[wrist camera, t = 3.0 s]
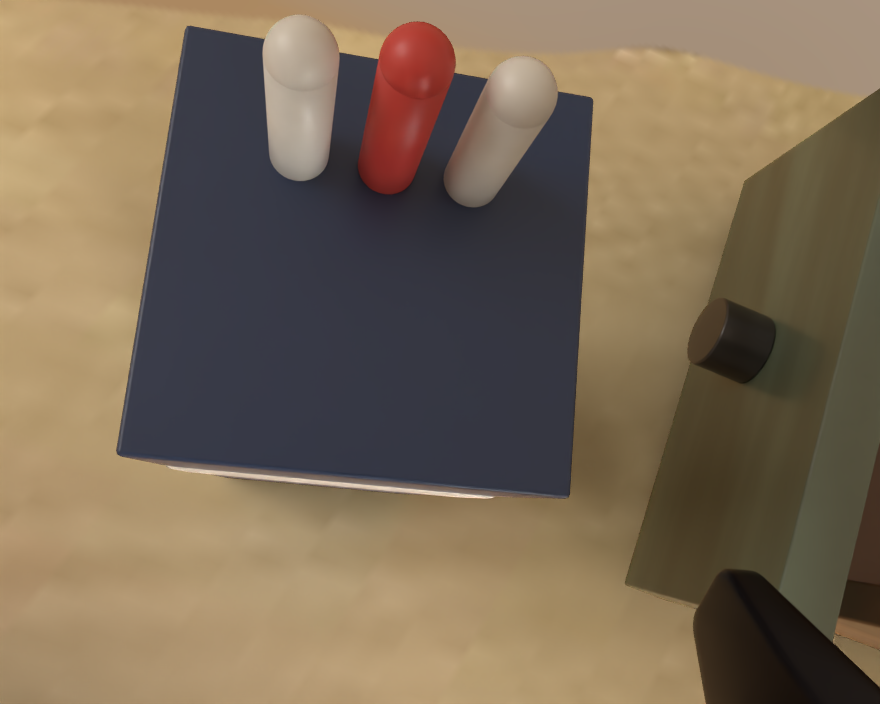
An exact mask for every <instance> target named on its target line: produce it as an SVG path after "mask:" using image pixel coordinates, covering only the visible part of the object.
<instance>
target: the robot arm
mask: <svg viewBox="0 0 880 704" xmlns="http://www.w3.org/2000/svg"><path fill="white" fill-rule="evenodd" d="M693 631H694V638H695V643H696V649H697V655H698V661H699V667H700V672H701V678H702V684H703V690H704V696H705V701H706V704H880V688H879V687H878V686H877V685H876V684H875V683H874V682H873V681H872V680H871V679H870V678H869V677H868V676H867V675H866V674H865V673H864V672H863V671H862V670H861V669H860V668H859V667H858V666H856V665H855V664H854V663H853V662H852V661H851V660H850V659H849V658H848V657H847V656H846V655H845V654H844V653H843V652H842V651H841V650H840V649H839V648H838V647H837V646H836V645H835V644H834V643H832V642H831V641H830V640H829V639H828V638H827V637H826V636H825V635H824V634H823V633H822V632H821V631H820V630H819V629H818V628H817V627H816V626H815V625H814V624H813V623H812V622H811V621H809V620H808V619H807V618H806V617H805V616H804V615H803V614H802V613H801V612H800V611H799V610H798V609H797V608H796V607H795V606H794V605H793V604H792V603H791V602H790V601H789V600H788V599H786V598H785V597H784V596H783V595H782V594H781V593H780V592H779V591H778V590H777V589H776V588H775V587H774V586H773V585H772V584H771V583H770V582H769V581H768V580H767V579H766V578H764V577H763V576H762V575H761V574H759V573H758V572H755V571H752V570H741V569H729V568H728V569H723V570H722V571H720V572H719V573H718V574H717V575H716V577H715V578H714V580H713V582H712V584H711V585H710V587H709V589H708V591H707V592H706V594H705V596H704V597H703V599H702V601H701V603H700V604H699V606H698V608H697V610H696V612H695V616H694V622H693Z"/></svg>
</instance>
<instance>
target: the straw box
mask: <svg viewBox="0 0 880 704" xmlns="http://www.w3.org/2000/svg"><path fill="white" fill-rule="evenodd" d="M455 66H456V59H455V54H454V49H453V47H452V44H451V42H450V41H449V39H448V38H447V36H446V35H445V34H444V33H443V32H442V31H441V30H440V29H438V28H437V27H435V26H433V25H431V24H429V23H425V22H409V23H406V24H403V25H401V26H399V27H397V28H396V29H395V30H393V32H391V33H390V34H389V35H388V37H387V38H386V39H385V41H384V43H383V45H382V48H381V51H380V55H379V59H373V58H367V57H362V56H356V55H351V54H345V53H339V48H338V44H337V42H336V39H335V37H334V35H333V34H332V32H331V31H330V29H329V28H328V27H327V26H326V25H325V24H323V23H322V22H320V21H319V20H317V19H315V18H313V17H310V16H307V15H291V16H288V17H285V18H283V19H281V20H279V21H278V22H277V23H275V24H274V25H273V26H272V28H271V29H270V30H269V32H268V34H267V36H266V37H265V39H261V38H255V37H250V36H244V35H239V34H233V33H227V32H222V31H216V30H211V29H205V28H199V27H194V26H187V27H186V29H185V33H184V39H183V45H182V51H181V57H180V63H179V69H178V75H177V82H176V88H175V94H174V100H173V106H172V112H171V118H170V125H169V131H168V137H167V143H166V149H165V155H164V161H163V167H162V174H161V180H160V186H159V192H158V198H157V204H156V210H155V216H154V223H153V229H152V235H151V241H150V247H149V253H148V259H147V266H146V272H145V278H144V284H143V290H142V296H141V302H140V308H139V315H138V321H137V327H136V333H135V339H134V345H133V351H132V357H131V364H130V370H129V376H128V382H127V388H126V394H125V400H124V407H123V413H122V419H121V425H120V431H119V437H118V443H117V449H116V451H117V454H118V455H119V456H122V457H127V458H132V459H136V460H141V461H146V462H151V463H156V464H161V465H166V467H168V468H170V469H174V470H180V471H186V472H191V473H202V474H211V475H216V476H221V477H227V478H237V479H248V480H259V481H269V482H280V483H291V484H302V485H312V486H323V487H334V488H345V489H355V490H366V491H377V492H388V493H398V494H422V495H437V496H448V497H460V498H485V499H491V498H494V497H524V498H558V499H565V498H568V497H569V495H570V483H571V466H572V449H573V432H574V416H575V399H576V382H577V365H578V349H579V332H580V315H581V298H582V282H583V265H584V248H585V231H586V215H587V198H588V181H589V164H590V148H591V131H592V114H593V99H592V98H591V97H586V96H580V95H575V94H569V93H564V92H558V87H557V83H556V80H555V78H554V75H553V73H552V72H551V70H550V69H549V68H548V67H547V66H546V65H545V64H544V63H543V62H541V61H540V60H538V59H536V58H533V57H529V56H516V57H512V58H509V59H507V60H505V61H503V62H502V63H500V64H499V65H498V66H497V67H496V68H495V69H494V71H493V72H492V73H491V75H490V76H489V78H488V79H485V78H480V77H474V76H468V75H463V74H457V73H454V71H455Z"/></svg>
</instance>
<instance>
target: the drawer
mask: <svg viewBox="0 0 880 704" xmlns="http://www.w3.org/2000/svg"><path fill="white" fill-rule="evenodd" d="M687 355H688V359H689V361H690V365H689V369H688V372H687V376H686V379H685V382H684V386H683V389H682V392H681V396H680V399H679V402H678V406H677V409H676V412H675V416H674V419H673V423H672V426H671V429H670V433H669V436H668V439H667V443H666V446H665V449H664V453H663V456H662V459H661V463H660V466H659V470H658V473H657V476H656V480H655V483H654V486H653V490H652V493H651V496H650V500H649V503H648V506H647V510H646V513H645V517H644V520H643V523H642V527H641V530H640V533H639V537H638V540H637V543H636V547H635V550H634V554H633V557H632V560H631V564H630V567H629V570H628V574H627V577H626V580H625V584H626V585H627V586H629V587H632V588H635V589H637V590H640V591H643V592H645V593H648V594H651V595H653V596H656V597H659V598H661V599H664V600H667V601H670V602H674V603H677V604H680V605H684V606H687V607H691V608H694V609H697V608H698V606H699V604H700V603H701V601H702V599H703V597H704V596H705V594H706V592H707V591H708V589H709V587H710V585H711V584H712V582H713V580H714V578H715V577H716V575H717V574H718V573H719V572H720V571H722V570H723V569H728V568H729V569H741V570H752V571H755V572H758V573H759V574H761V575H762V576H763V577H764V578H766V579H767V580H768V581H769V582H770V583H771V584H772V585H773V586H774V587H775V588H776V589H777V590H778V591H779V592H780V593H781V594H782V595H783V596H784V597H785V598H786V599H788V600H789V601H790V602H791V603H792V604H793V605H794V606H795V607H796V608H797V609H798V610H799V611H800V612H801V613H802V614H803V615H804V616H805V617H806V618H807V619H808V620H809V621H811V622H812V623H813V624H814V625H815V626H816V627H817V628H818V629H819V630H820V631H821V632H822V633H823V634H824V635H825V636H826V637H827V638H828V639H829V640H830V641H831V642H832V641H833V637H834V633H836V634H839V635H841V636H844V637H847V638H849V639H852V640H855V641H857V642H860V643H862V644H865V645H868V646H870V647H873V648H876V649H878V650H880V89H878V90H877V91H876V92H874V93H873V94H871V95H870V96H868V97H867V98H865V99H864V100H862V101H861V102H859V103H858V104H856V105H855V106H854V107H852V108H851V109H849V110H848V111H846V112H845V113H843V114H842V115H840V116H839V117H837V118H836V119H835V120H833V121H832V122H830V123H829V124H827V125H826V126H824V127H823V128H821V129H820V130H818V131H817V132H815V133H814V134H813V135H811V136H810V137H808V138H807V139H805V140H804V141H802V142H801V143H799V144H798V145H796V146H795V147H793V148H792V149H791V150H789V151H788V152H786V153H785V154H783V155H782V156H780V157H779V158H777V159H776V160H774V161H773V162H772V163H770V164H769V165H767V166H766V167H764V168H763V169H761V170H760V171H758V172H757V173H755V174H754V175H752V176H751V177H750V178H748V179H747V180H745V181H744V184H743V188H742V191H741V194H740V198H739V201H738V204H737V208H736V211H735V214H734V218H733V221H732V224H731V228H730V231H729V235H728V238H727V241H726V245H725V248H724V251H723V255H722V258H721V261H720V265H719V268H718V271H717V275H716V278H715V282H714V285H713V288H712V292H711V295H710V298H709V302H708V305H707V306H706V307H705V309H704V310H703V311H702V313H701V314H700V316H699V317H698V319H697V321H696V323H695V325H694V327H693V329H692V332H691V335H690V338H689V342H688V348H687Z"/></svg>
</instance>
